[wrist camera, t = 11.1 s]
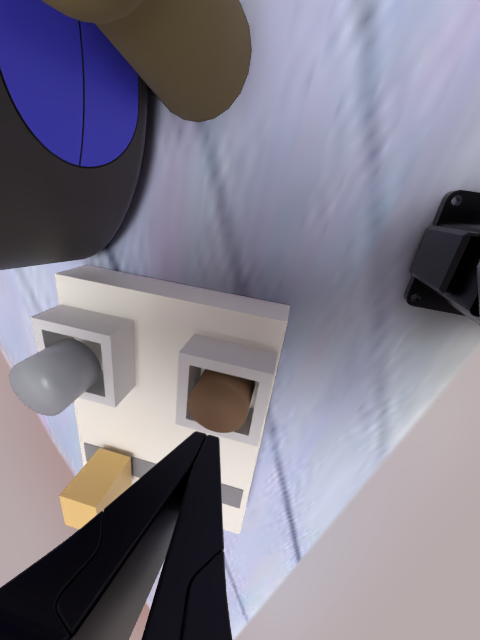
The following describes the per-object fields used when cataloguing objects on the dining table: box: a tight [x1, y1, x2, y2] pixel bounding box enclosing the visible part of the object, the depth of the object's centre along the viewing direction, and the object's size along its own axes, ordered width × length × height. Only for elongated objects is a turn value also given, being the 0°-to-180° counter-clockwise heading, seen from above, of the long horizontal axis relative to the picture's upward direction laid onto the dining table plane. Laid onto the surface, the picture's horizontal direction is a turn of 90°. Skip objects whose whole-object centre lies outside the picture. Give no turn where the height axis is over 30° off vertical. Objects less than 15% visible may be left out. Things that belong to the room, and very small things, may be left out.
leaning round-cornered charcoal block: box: [0, 0, 147, 270], centre depth 13 cm, size 16×5×9 cm, turn 162°
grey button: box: [9, 338, 101, 416], centre depth 17 cm, size 4×4×3 cm
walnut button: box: [188, 369, 255, 433], centre depth 17 cm, size 4×4×3 cm
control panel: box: [30, 265, 290, 534], centre depth 22 cm, size 16×22×6 cm
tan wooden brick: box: [60, 448, 132, 529], centre depth 23 cm, size 3×4×4 cm
